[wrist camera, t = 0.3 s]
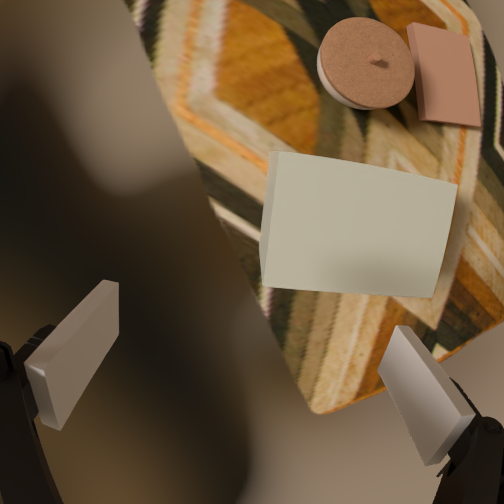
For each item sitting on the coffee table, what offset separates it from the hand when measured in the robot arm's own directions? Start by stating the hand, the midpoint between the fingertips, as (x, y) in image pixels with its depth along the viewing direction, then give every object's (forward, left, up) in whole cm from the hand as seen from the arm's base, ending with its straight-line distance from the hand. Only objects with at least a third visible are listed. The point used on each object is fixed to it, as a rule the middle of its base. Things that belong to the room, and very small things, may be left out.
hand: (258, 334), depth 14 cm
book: (-24, +24, -28) cm, 44 cm away
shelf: (-2, +10, -27) cm, 29 cm away
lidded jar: (-20, +10, -28) cm, 35 cm away
